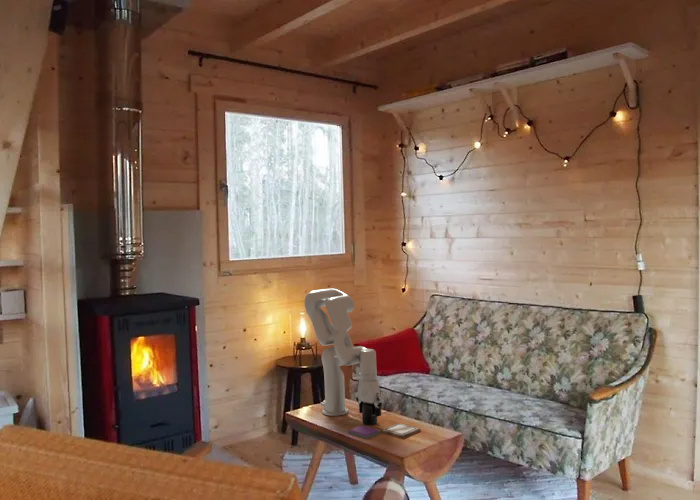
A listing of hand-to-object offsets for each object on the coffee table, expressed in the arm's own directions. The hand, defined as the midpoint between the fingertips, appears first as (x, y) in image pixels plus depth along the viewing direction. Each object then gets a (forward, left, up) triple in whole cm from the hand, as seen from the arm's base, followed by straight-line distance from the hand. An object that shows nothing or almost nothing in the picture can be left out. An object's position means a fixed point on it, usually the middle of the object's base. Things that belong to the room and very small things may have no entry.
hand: (370, 414), depth 282 cm
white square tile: (+18, 0, -4) cm, 18 cm away
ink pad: (+7, -11, -4) cm, 14 cm away
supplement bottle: (0, 0, -5) cm, 5 cm away
